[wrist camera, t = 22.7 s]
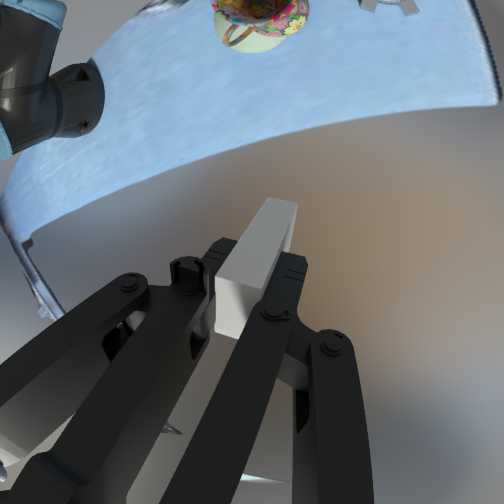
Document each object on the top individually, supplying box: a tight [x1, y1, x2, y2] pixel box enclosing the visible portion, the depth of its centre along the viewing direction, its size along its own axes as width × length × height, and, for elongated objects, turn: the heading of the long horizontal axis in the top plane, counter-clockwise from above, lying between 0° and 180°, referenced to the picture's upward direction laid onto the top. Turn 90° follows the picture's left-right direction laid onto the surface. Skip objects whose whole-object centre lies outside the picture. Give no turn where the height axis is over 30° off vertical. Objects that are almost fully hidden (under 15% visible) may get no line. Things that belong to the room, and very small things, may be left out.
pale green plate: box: [214, 12, 288, 53], centre depth 28 cm, size 11×11×1 cm
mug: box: [210, 0, 309, 47], centre depth 24 cm, size 12×9×11 cm
